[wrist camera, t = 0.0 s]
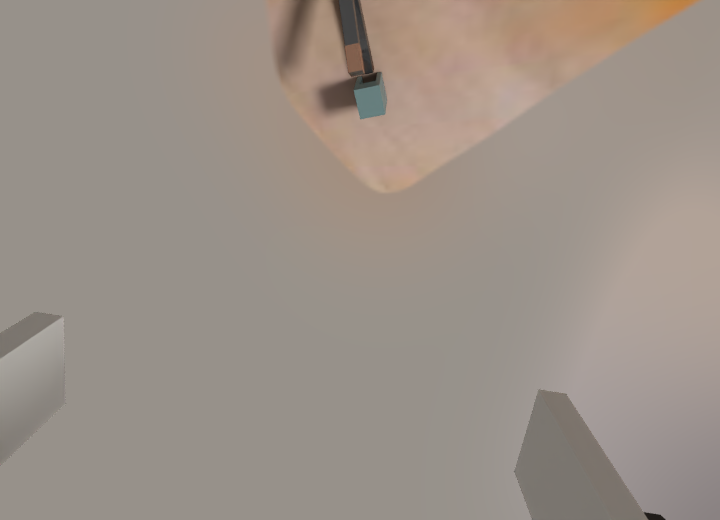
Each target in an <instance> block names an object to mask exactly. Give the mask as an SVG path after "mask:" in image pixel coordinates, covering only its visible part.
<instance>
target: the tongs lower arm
mask: <svg viewBox="0 0 720 520" xmlns="http://www.w3.org/2000/svg"><path fill="white" fill-rule="evenodd" d="M354 4H355V11H356V18H357V25H358V33H359V40H360V47H361V51H362V58H363V65H364V72H365V74H369V73H373V72H374V66H373V61H372V56H371V51H370V46H369V41H368V37H367V32H366V27H365V22H364V17H363V12H362V8H361V3H360V0H354ZM363 75H364V74H363Z"/></svg>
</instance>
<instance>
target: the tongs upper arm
mask: <svg viewBox="0 0 720 520" xmlns="http://www.w3.org/2000/svg"><path fill="white" fill-rule="evenodd" d="M339 5H340V13H341V20H342V27H343V34H344V41H345V51H346V58H347V66H348V73H349V74H350V76H351V77H354V76H358V75H363V74H365V72H364V65H363V58H362V51H361V47H360V40H359V33H358V25H357V18H356V11H355V4H354V0H339Z"/></svg>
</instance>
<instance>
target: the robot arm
mask: <svg viewBox="0 0 720 520" xmlns="http://www.w3.org/2000/svg"><path fill="white" fill-rule="evenodd" d="M63 319H64V318H63V316H59V315H52V314H46V313H39V312H34V313H33V314H31V315H29V316H28V317H26V318H24V319H23V320H21V321H19V322H18V323H16V324H15V325H13V326H11V327H10V328H8V329H6V330H5V331H3V332H1V333H0V466H1V465H2V464H3V463H4V462H5V461H6V460H7V459H8V458H9V457H10V456H11V455H12V454H13V453H14V452H15V451H16V450H17V449H18V448H20V447H21V446H22V445H23V444H24V443H25V442H26V441H27V440H28V439H29V438H30V437H31V436H32V435H33V434H34V433H35V432H36V431H37V430H38V429H39V428H40V427H41V426H42V425H43V424H44V423H46V422H47V421H48V420H49V419H50V418H51V417H52V416H53V415H54V414H55V413H56V412H57V411H58V410H59V409H60V408H61V407H62V406H63V405H64V404H65V363H64V320H63ZM514 472H515V475H516V477H517V480H518V483H519V485H520V488H521V491H522V493H523V496H524V499H525V501H526V504H527V507H528V509H529V512H530V515H531V517H532V520H665V519H664V518H663V517H662V516H661V515H658V514H651V513H645V512H643V511H642V509H641V508H640V506H639V505H638V503H637V502H636V500H635V499H634V497H633V496H632V494H631V493H630V491H629V489H628V488H627V486H626V485H625V484H624V482H623V480H622V479H621V477H620V476H619V474H618V473H617V471H616V470H615V468H614V466H613V465H612V463H611V462H610V460H609V459H608V457H607V456H606V454H605V453H604V451H603V450H602V448H601V447H600V445H599V444H598V442H597V440H596V439H595V438H594V436H593V435H592V433H591V431H590V430H589V428H588V427H587V425H586V424H585V422H584V421H583V419H582V417H581V416H580V414H579V413H578V411H577V410H576V408H575V407H574V405H573V404H572V402H571V401H570V399H569V398H568V396H567V394H564V393H558V392H551V391H545V390H538V394H537V397H536V400H535V404H534V407H533V411H532V414H531V417H530V421H529V424H528V428H527V431H526V434H525V437H524V441H523V444H522V448H521V451H520V454H519V458H518V461H517V465H516V468H515V471H514Z"/></svg>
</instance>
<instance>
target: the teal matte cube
mask: <svg viewBox="0 0 720 520" xmlns="http://www.w3.org/2000/svg"><path fill="white" fill-rule="evenodd" d="M354 94H355V98H356V103H357V107H358V111H359V115H360V119H364V118H369V117H374V116H379V115H384V114H385V112H386V103H387V97H386V92H385V87H384V82H383V77H382V72H378V73H377V77H376V81H372V82H367V83H363V80H362V76H360V77H357V81H356V84H355V87H354Z"/></svg>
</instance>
